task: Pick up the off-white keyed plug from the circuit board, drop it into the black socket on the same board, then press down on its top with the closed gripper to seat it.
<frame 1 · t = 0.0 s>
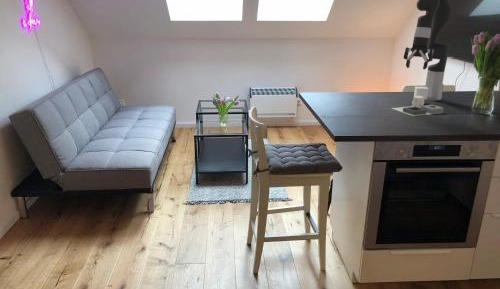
hand: (415, 68, 214), 22 cm above the countertop, tool pointing down, fingers open, 8 cm apart
plug: (417, 107, 222), point 1 cm above the countertop, touching circuit board
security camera: (418, 105, 234), on the countertop
circuit board: (416, 112, 217), on the countertop
header socket: (414, 114, 213), resting on circuit board
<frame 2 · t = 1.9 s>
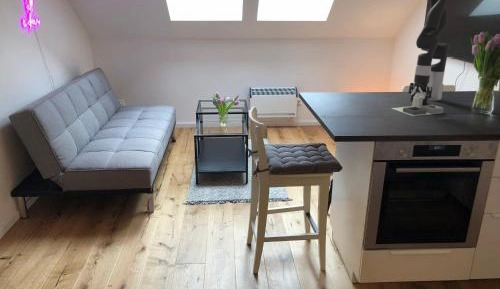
hand: (418, 103, 221), 3 cm above the countertop, tool pointing down, fingers open, 8 cm apart
nothing on the countertop moved.
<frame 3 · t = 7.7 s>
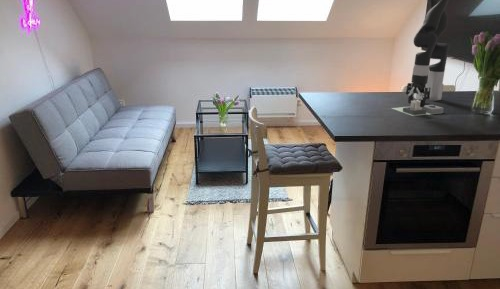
hand: (415, 105, 211), 5 cm above the countertop, tool pointing down, fingers open, 8 cm apart
plug: (415, 112, 212), point 1 cm above the countertop, touching circuit board
everything else where it was.
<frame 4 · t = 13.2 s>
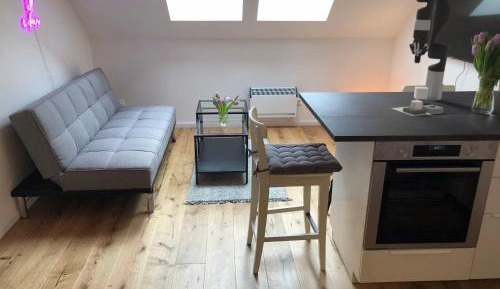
hand: (416, 63, 215), 25 cm above the countertop, tool pointing down, fingers closed
nothing on the countertop moved.
at the end: plug 0.3 cm off-centre on the header socket, point 1.0 cm above the header socket's base; plug tilted 0°; the gripper is holding nothing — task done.
